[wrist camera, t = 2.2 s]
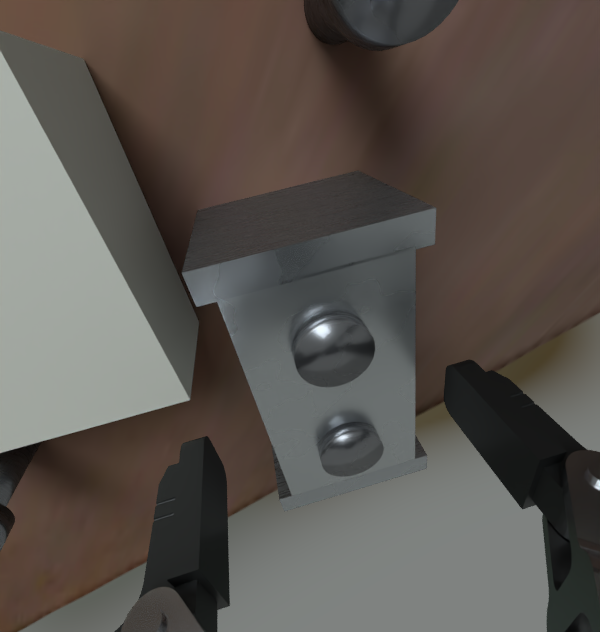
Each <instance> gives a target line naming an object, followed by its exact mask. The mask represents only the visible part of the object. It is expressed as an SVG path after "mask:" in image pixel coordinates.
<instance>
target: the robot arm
mask: <svg viewBox="0 0 600 632" xmlns="http://www.w3.org/2000/svg"><path fill="white" fill-rule="evenodd" d="M444 402H445V405H446V408H447V410H448V412H449V414H450V415H451V417H452V418H453V419H454V420H455V422H456V423H457V424H458V425H459V427H460V428H461V430H462V431H463V432H464V434H465V435H466V436H467V438H468V439H469V440H470V441H471V443H472V444H473V445H474V447H475V448H476V449H477V451H478V452H479V453H480V454H481V456H482V457H483V458H484V460H485V461H486V462H487V464H488V465H489V466H490V467H491V469H492V470H493V472H494V473H495V474H496V475H497V477H498V478H499V479H500V481H501V482H502V483H503V485H504V486H505V487H506V488H507V490H508V491H509V493H510V494H511V495H512V496H513V498H514V499H515V500H516V502H517V503H518V504H519V506H520V507H521V508H522V509H525V508H527V507H531V506H534V505H537V507H538V508H539V509H540V510H541V512H542V513H543V517H542V518H543V519H542V522H543V533H544V543H545V553H546V564H547V574H548V586H549V602H548V608H547V632H600V452H597V451H592V450H587V449H585V448H584V447H583V446H582V445H580V444H579V443H578V442H577V441H576V440H575V439H574V438H573V437H572V436H570V435H569V434H568V433H567V432H566V431H565V430H564V429H563V428H562V427H560V425H558V424H557V423H556V422H555V421H554V420H553V419H552V418H551V417H550V416H549V415H548V414H546V413H545V412H544V411H543V410H542V409H541V408H540V407H539V406H538V405H535V404H534V402H533V401H532V400H531V399H530V398H529V397H528V396H527V395H526V394H523V391H522V390H520V389H519V388H518V387H517V386H516V385H515V384H514V383H513V382H512V381H511V380H510V379H508V378H506V377H504V376H502V375H500V374H498V373H496V372H494V371H492V370H491V371H488V372H485V371H484V370H483V369H482V368H481V367H480V366H479V365H478V364H477V363H476V362H474V361H473V360H466V361H463V362H459V363H456V364H452V365H449V366H447V368H446V374H445V388H444ZM156 503H157V506H156V508H155V514H154V522H153V527H152V533H151V540H150V546H149V552H148V559H147V565H146V571H145V578H144V584H143V588H142V591H141V595H140V597H139V600H138V601H137V602H136V604H135V605H134V606H133V607H132V609H131V610H130V612H129V613H128V615H127V617H126V619H125V621H124V623H123V624H122V625H121V626H120V627H119V628H118V629H117V630H116V631H115V632H217V610H218V609H221V608H224V607H227V606H230V605H229V604H230V601H229V562H228V560H229V559H228V517H227V481H226V474H225V470H224V466H223V464H222V462H221V460H220V458H219V456H218V454H217V452H216V450H215V448H214V447H213V445H212V443H211V441H210V439H209V438H208V437H207V436H206V437H202V438H199V439H195V440H192V441H189V442H185V443H183V444H182V446H181V451H180V460H179V463H178V464H174V465H171V466H168V468H167V470H166V472H165V474H164V476H163V478H162V480H161V482H160V484H159V489H158V495H157V501H156Z"/></svg>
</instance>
